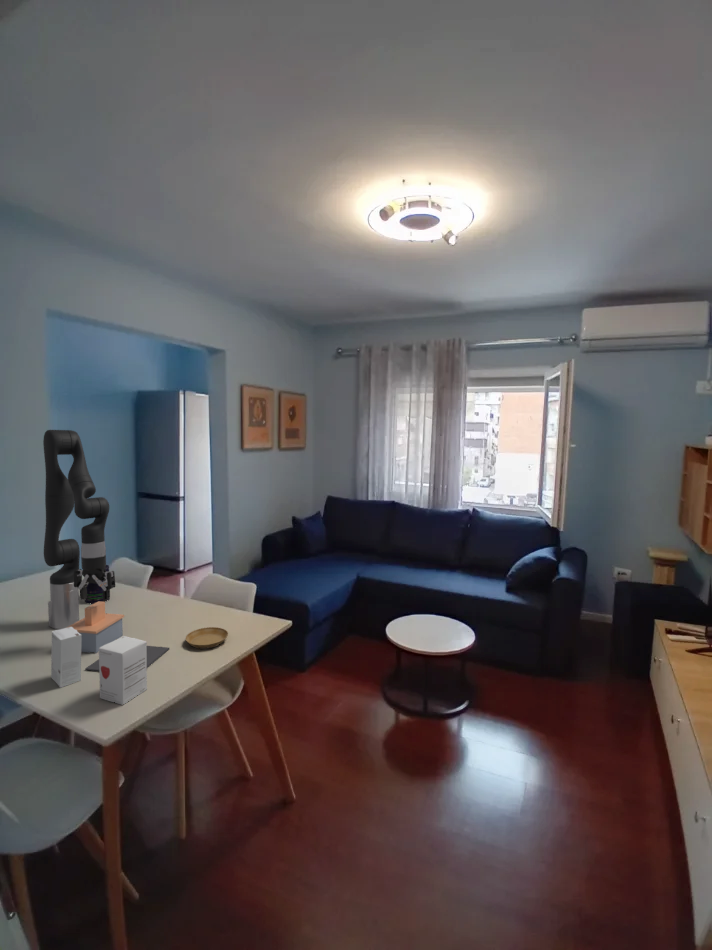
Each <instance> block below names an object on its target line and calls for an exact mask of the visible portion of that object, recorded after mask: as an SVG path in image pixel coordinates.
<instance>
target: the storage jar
mask: <svg viewBox="0 0 712 950" xmlns="http://www.w3.org/2000/svg"><path fill="white" fill-rule="evenodd" d="M105 570H106V572H110V566H109V565H108V564H106V567H105ZM105 577H106V576H105ZM106 579H107V578H106ZM101 582H103V580H102V581H101ZM86 588H87V598H86V599H84V603H85V602H86V603H85V604H87V603H91V604H90V605H92V604H94V603H96V602H98V601H101V602H105V601H103V591H104V590H103V589H102V587H101V586H99V585H98V584H94V583H88V585H87V586H86ZM110 598H111V597H110ZM110 598H109V600H110ZM105 603H106V602H105Z"/></svg>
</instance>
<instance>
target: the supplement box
mask: <svg viewBox="0 0 712 950" xmlns="http://www.w3.org/2000/svg"><path fill="white" fill-rule="evenodd" d="M147 642H148V641H146V640H142V639H140V638H137V637H129V636H126V635H123V636H121V637H120V638H118V639H117V640H114V641H112V642H110V643H108V644H106V645H104V646H102V647H100V648H99V652H98V659H99V672H98V673H99V675H98V676H99V699H102V700H105V701H108V702H112V703H114V702H115V704H118V705H120V706H121V705H122V706H124V705H125V703H126V704H127V703H128V701H129V702H131V699H132V700H133V699H134V697H135V698H136V697H137V695H138V696H139V695H141V694H142V693H144V692H145V691H147V690H148V685H147V684H148V681H147V679H148V675H147V674H148V673H147V672H148V668H147V646H148V644H147ZM123 704H124V705H123Z"/></svg>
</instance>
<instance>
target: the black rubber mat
mask: <svg viewBox="0 0 712 950" xmlns="http://www.w3.org/2000/svg"><path fill="white" fill-rule="evenodd" d="M169 650H170V647H168V646H167V647H165V646H155V645H147V669H148V668H149V667H151V666H152V665H153V664H154V663H155V662H156V661H157V660H159V659H160V658H161V657H162V656H163V655H165V654H166V653H167V652H169ZM151 664H152V665H151ZM86 670H92V671H91V672H96V671H99V658H98V659H97V660H96V661H94V662H92V663H91V664H90V665H88V666H87V667H86V668H85V671H86Z"/></svg>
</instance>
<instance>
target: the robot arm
mask: <svg viewBox="0 0 712 950" xmlns="http://www.w3.org/2000/svg"><path fill="white" fill-rule="evenodd" d="M42 440H43V441H42V442H43V444H42V445H43V454H44V466H45V467H44V469H45V490H44V491H45V492H44V493H45V495H44V496H45V497H44V498H45V499H44V500H45V503H44V505H45V529H44V530H45V533H44V542H43V560H44V562H45V564H46V565H47V566H49V567H55V566H61V568H60V569H57V570H56V571H54V572H52V574H51V575H50V576H49V593H50V595H49V596H50V597H49V598H50V601H48V603H47V605H48V606H47V607H48V608H47V613H48V627H50V628H52V629H55V630H60V629H64V628H66V627H68V626H70V625H72V624H74V623H76V622H78V621H79V620H80V600H84V601H85V599H86V598H87V588H86V586H87V585H88V583H94V584H98V585H99V586H101V587H102V589H103V590H104V591H103V601H106V602H108V601H110V599H109V598H111V589H114V588H115V587H116V577H115V571H114V570H111V571H110V570H109V572H106V570H105V567H106V565H107V552H106V551H107V549H106V547H107V546H106V542H105V541H106V540H105V528H106V524H107V519H108V516H109V512H110V503H109V502H108V499H106V498H105V497H103V496H102V497H101V496H100V497H99V496H98V497H93V496H95V494H96V492H97V489H96V486H95V484H94V481H93V479H92V477H91V475H90V472H89V469H88V465H87V459H86V456H85V452H84V448H83V444H82V439H81V437H80V435H79V434H78V432H77V431H75V430H72V429H71V430H70V429H46V431H45V432H44V435H43V439H42ZM58 455H61V456H63V455H64V456H65V455H66V456H68V455H69V456H70V455H71V456H72V458H73V462H72V464H71V467H70V469H69V470H68V473H67V476H66V475H65V474H64V472H63V471H62V469H61V467H60V463H59V460H58ZM73 510H74V514H75V516H76V517H77V518H78V519H80V520H88V519H94V520H93V521H92V522H91V523H88V524H87V525H83V526H82V527H81V530H80V536H81V545H80V544H79V542H78V541H77V540H76V539H74V538H67V539H61V540H59V539H60V534H61V530H62V528H63V526H64V524H65V523H66V521H67V520H68V518H69V517H70V515H71V514H72V512H73ZM79 545H80V546H79ZM80 555H81V557H80ZM80 559H81V560H80ZM80 561H81V568H80ZM105 576H106V577H105ZM106 578H107V579H106ZM102 580H103V582H101V581H102ZM107 600H108V601H107Z"/></svg>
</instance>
